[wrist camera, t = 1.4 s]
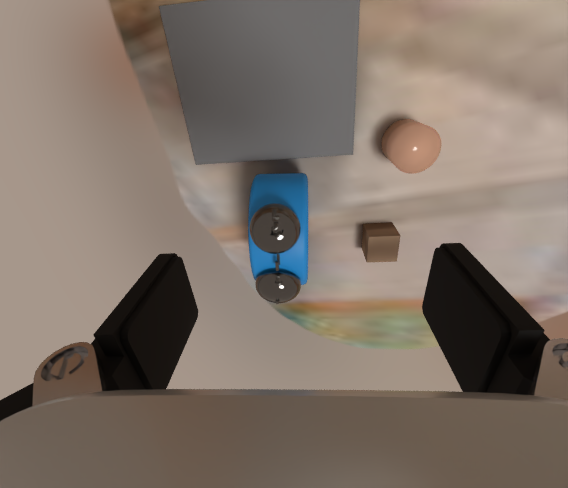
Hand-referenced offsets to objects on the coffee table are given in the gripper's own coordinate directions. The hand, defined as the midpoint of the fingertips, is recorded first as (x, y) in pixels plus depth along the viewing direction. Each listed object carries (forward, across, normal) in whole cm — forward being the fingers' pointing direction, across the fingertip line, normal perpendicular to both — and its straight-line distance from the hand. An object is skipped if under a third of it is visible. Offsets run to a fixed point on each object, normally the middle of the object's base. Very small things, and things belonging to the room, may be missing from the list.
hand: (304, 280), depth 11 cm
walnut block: (+28, -10, +14) cm, 33 cm away
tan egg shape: (+28, -12, +1) cm, 31 cm away
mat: (+28, +4, -6) cm, 29 cm away
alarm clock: (+28, +3, +9) cm, 30 cm away
